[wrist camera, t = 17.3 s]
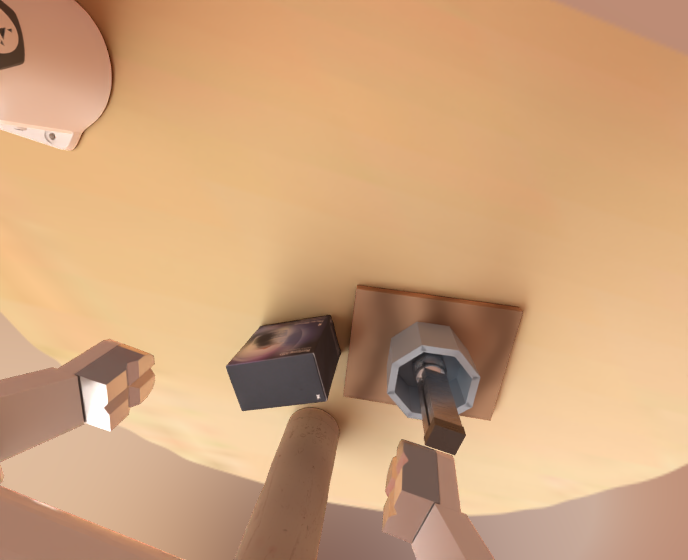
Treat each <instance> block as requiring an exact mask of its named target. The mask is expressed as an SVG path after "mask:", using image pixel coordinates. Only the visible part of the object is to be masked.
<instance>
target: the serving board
mask: <svg viewBox="0 0 688 560" xmlns="http://www.w3.org/2000/svg"><path fill="white" fill-rule="evenodd" d="M522 314H523V311H522V310H521V309H520V308H519V307H515V306H508V305H500V304H493V303H486V302H478V301H471V300H464V299H456V298H449V297H442V296H434V295H427V294H420V293H412V292H405V291H398V290H390V289H383V288H376V287H368V286H361V285H357V289H356V296H355V305H354V313H353V321H352V329H351V338H350V346H349V354H348V363H347V371H346V379H345V387H344V396H345V397H351V398H357V399H363V400H369V401H375V402H381V403H387V404H393V405H396V403H395V402H394V401H393V400H392V399H391V398H390V396H389V395H388V394H387V361H388V355H389V349H390V343H391V338H392V337H394V336H395V335H397V334H398V333H400V332H402V331H403V330H405V329H406V328H408V327H409V326H411V325H412V324H414V323H416V322H424V323H431V324H438V325H445V326H450V328H451V329H452V330H453V332H454V333H455V334H456V335H457V337H458V338H459V339H460V341H461V342H462V343H463V344H464V346H465V347H466V348H467V349H468V352H469V354H470V356H471V358H472V360H473V362H474V364H475V367H476V369H477V371H478V373H479V375H480V381H479V384H478V388H477V392H476V395H475V399H474V403H473V406H472V408H470V409H468V410H466V411H464V412H462V413H461V414H459V415H460V416H466V417H472V418H478V419H484V420H490V421H491V418H492V414H493V411H494V407H495V404H496V401H497V397H498V394H499V391H500V387H501V384H502V381H503V377H504V374H505V371H506V367H507V364H508V361H509V357H510V354H511V351H512V347H513V344H514V341H515V337H516V334H517V331H518V327H519V324H520V321H521V317H522Z"/></svg>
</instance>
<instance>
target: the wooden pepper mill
mask: <svg viewBox="0 0 688 560" xmlns="http://www.w3.org/2000/svg"><path fill="white" fill-rule="evenodd" d="M338 438H339V428H338V425H337V423H336V421H335V420H334V418H333V417H332V416H331V415H330V414H328V413H327V412H325V411H323V410H320V409H316V408H304V409H301V410H299V411H297V412H295V413H294V414H293V415H292V416H291V417H290V419H289V422H288V424H287V426H286V429H285V432H284V434H283V437H282V439H281V442H280V444H279V447H278V449H277V452H276V454H275V457H274V459H273V462H272V464H271V467H270V470H269V473H268V476H267V480H266V482H265V485H264V487H263V489H262V491H261V493H260V496H259V498H258V500H257V503H256V505H255V507H254V510H253V512H252V515H251V518H250V520H249V523H248V525H247V528H246V530H245V533H244V535H243V538H242V540H241V543H240V545H239V548H238V550H237V553H236V555H235V558H234V560H317V554H318V548H319V543H320V538H321V532H322V526H323V521H324V515H325V510H326V504H327V499H328V492H329V485H330V480H331V475H332V470H333V466H334V460H335V455H336V449H337V443H338Z"/></svg>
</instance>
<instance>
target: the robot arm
mask: <svg viewBox="0 0 688 560" xmlns="http://www.w3.org/2000/svg"><path fill="white" fill-rule="evenodd" d="M111 81H112V73H111V64H110V58H109V54H108V51H107V47H106V45H105V42H104V39H103V37H102V35H101V33H100V31H99V29H98V27H97V26H96V24H95V23H94V21H93V20H92V18H91V17H90V16H89V14H88V13H87V12H86V11H85V10H84V9H83V8H82V7H81V6H80V5H79V4H78V3H77V2H76V1H74V0H0V130H3V131H6V132H10V133H13V134H16V135H19V136H22V137H25V138H28V139H31V140H34V141H37V142H40V143H43V144H46V145H49V146H52V147H55V148H58V149H63V150H68V151H70V150H73V149H74V148H75V147H76V145H77V143H78V141H79V139H80V137H81V134H82V132H83V131H84V130H85V129H86V128H87V127H89V126H90V125H91V124H93V123H94V122H95V121H96V120H97V119H98V118H99V117H100V115H101V114H102V112H103V111H104V109H105V107H106V105H107V102H108V99H109V96H110V91H111ZM55 137H56V138H55ZM154 364H155V361H154V356H153V355H151V354H149V353H147V352H144V351H141V350H139V349H136V348H133V347H131V346H128V345H125V344H122V343H119V342H116V341H114V340H111V339H108V340H103V341H102V342H100V343H98V344H97V345H95V346H93V347H92V348H90V349H89V350H87V351H85V352H84V353H82V354H81V355H79V356H77V357H76V358H74V359H72V360H71V361H69V362H68V363H66V364H64V365H63V366H61V367H59V368H58V369H56V368H48V369H44V370H40V371H36V372H31V373H27V374H23V375H19V376H15V377H10V378H6V379H2V380H0V462H2V461H4V460H6V459H8V458H11V457H13V456H15V455H17V454H19V453H22V452H24V451H26V450H28V449H31V448H33V447H35V446H37V445H40V444H42V443H44V442H46V441H48V440H50V439H53V438H55V437H57V436H59V435H62V434H64V433H66V432H68V431H71V430H73V429H75V428H77V427H79V426H81V425H84V423H87V424H90V425H93V426H96V427H99V428H102V429H105V430H108V431H112V430H113V429H114V428H115V427H116V426H117V425H118V424H119V423H120V422H121V421H122V420H124V419H125V418H126V417H127V416H128V415H129V411H130V407H133V406H136V405H139V404H141V403H142V402H143V401H144V400H145V399H146V398H147V397H148V395H149V394H150V392H151V390H152V389H153V386H154V382H155V374H154V373H153V371H152V370H151V367H152V366H153V365H154ZM3 478H4V475H3V472H2V468H1V465H0V483H1V482H2V481H3ZM385 492H386V494H387V496H388V499H387V501H386V503H385V505H384V512H383V524H382V532H384V533H387V534H389V535H392V536H394V537H396V538H399V539H402V540H404V541H407V542H409V543H411V544H412V548H413V551H414V554H415V556H416V559H417V560H495V559H494V557H493V556H492V554H491V553H490V551H489V549H488V548H487V546H486V545H485V543H484V541H483V540H482V538H481V537H480V535H479V534H478V532H477V530H476V529H475V527H474V526H473V524H472V523H471V521H470V519H469V518H468V516H467V515H466V514H464V513H461V509H460V501H459V493H458V485H457V478H456V470H455V462H454V458H453V456H452V455H449V454H446V453H443V452H440V451H437V450H434V449H431V448H428V447H425V446H422V445H419V444H416V443H412V442H409V441H406V440H403V439H402V440H401V441H400V443H399V445H398V447H397V456H395V457H393V459H392V461H391V464H390V467H389V471H388V474H387V480H386V489H385ZM0 560H185V559H182V558H180V557H177V556H175V555H172V554H170V553H167V552H165V551H162V550H160V549H157V548H155V547H152V546H150V545H147V544H145V543H142V542H140V541H137V540H135V539H132V538H130V537H127V536H125V535H122V534H119V533H117V532H115V531H112V530H110V529H107V528H105V527H102V526H100V525H97V524H95V523H92V522H90V521H87V520H85V519H82V518H80V517H77V516H75V515H72V514H70V513H67V512H65V511H62V510H60V509H57V508H55V507H52V506H50V505H47V504H45V503H42V502H40V501H37V500H35V499H32V498H30V497H27V496H25V495H22V494H20V493H17V492H15V491H12V490H10V489H7V488H5V487H2V486H0Z"/></svg>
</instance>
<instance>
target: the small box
mask: <svg viewBox="0 0 688 560" xmlns="http://www.w3.org/2000/svg"><path fill="white" fill-rule="evenodd" d="M340 355H341V350H340V348H339V344H338V341H337V337H336V333H335V329H334V324H333V321H332V319H331V316H330V315H326V316H320V317H314V318H308V319H302V320H296V321H290V322H284V323H278V324H272V325H265V326H260V327H259V329H258V330H257V331H256V332H255V333H254V334H253V336H252V337H251V338H250V339H249V340H248V341H247V343H246V344H245V345H244V346H243V347H242V348H241V350H240V351H239V352H238V353H237V354H236V355H235V356H234V358H233V359H232V360H231V361H230V362H229V363H228V365H226V368H227V372H228V374H229V377H230V380H231V383H232V385H233V388H234V391H235V394H236V396H237V399H238V402H239V404H240V407H241V410H242V411H247V410H256V409H264V408H273V407H282V406H290V405H299V404H308V403H316V402H325V401H327V400H328V395H329V390H330V387H331V384H332V380H333V377H334V373H335V370H336V367H337V363H338V360H339V357H340Z"/></svg>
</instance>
